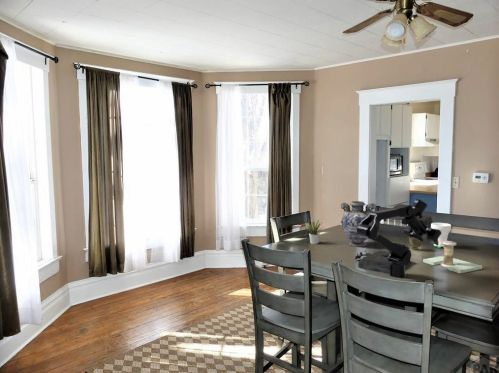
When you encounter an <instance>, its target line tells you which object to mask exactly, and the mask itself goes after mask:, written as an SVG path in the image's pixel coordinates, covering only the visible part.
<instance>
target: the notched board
mask: <svg viewBox="0 0 499 373" xmlns="http://www.w3.org/2000/svg"><path fill="white" fill-rule="evenodd" d="M422 259H423V258H422ZM422 262H423V263H425V264H429V265H432V266H436V265H441V263H443V262H444V255H441V256H434V257H429V258H424V259H423V260H422ZM453 263H454V264H456V266H450V267H448V268H447V269H448V271H451V272H455V273H458V274H464V273H468V272H473V271H478V270H482V269H483V265H481V264H476V263H473V262H469V261H467V260H466V261H465V260H461V259H458V258H455V257H453Z"/></svg>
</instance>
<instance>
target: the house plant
mask: <svg viewBox="0 0 499 373" xmlns="http://www.w3.org/2000/svg"><path fill="white" fill-rule="evenodd" d="M306 222H307V223H306V226H307V227H306V229H307V231H308V232H309V231H310V232H309V233H308V234H309V241H310V244H312V245H313V244H314V245H316V244H319V242H320V235H321V234H320V233H319V232H320V231H321V232H322V231H323V228H320V226H321V225H322V224H323V223H326V222H327V220H325V221H321V219H318V220H317V221H316V222H315V219H313V220H312V219H310V222H311V223H312V225H311V224H310V222H308V220H306Z"/></svg>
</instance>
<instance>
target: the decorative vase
mask: <svg viewBox="0 0 499 373" xmlns="http://www.w3.org/2000/svg"><path fill="white" fill-rule="evenodd" d="M364 207H365V209H364ZM340 209H342V210H343V212H342V218H341V221H340V223H341V226H342V227H343V233H344V234H345V236H346V238H348V240H349V241H350V242H349V243H348V244H349V246H352V247H359V248H360V247H366V246H367V243H366V240H367V238H364V237H361V236H358V235H357V228H358V226H359V225H360V223H361V221H362V220H364V219H365V218H366V217H367V216H368V215H369V213H370V212H373V210H375V209H376V204H375V203H374V202H369V203H367V204H366V203H365V201H363V200H362V201H360V200H358V201H357V200H356V201H355V200H354V201H353V200H352V201H351V203H346V202H342V203H341V204H340ZM373 224H374V220H373V221H372V222H371V223H370V224H368V225H369V226H373Z"/></svg>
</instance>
